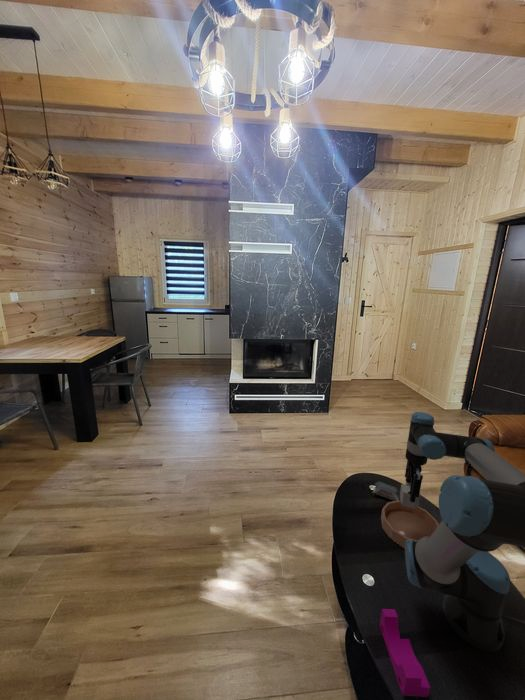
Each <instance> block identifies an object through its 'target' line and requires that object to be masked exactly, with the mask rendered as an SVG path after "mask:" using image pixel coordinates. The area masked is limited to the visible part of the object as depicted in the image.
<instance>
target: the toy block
mask: <svg viewBox="0 0 525 700" xmlns="http://www.w3.org/2000/svg"><path fill="white" fill-rule="evenodd" d="M380 614H381V615H380V620H379V628H380V630H381V633H382V636H383V640H384V643H385V645H386V649H387V652H388V655H389V657H390V661H391V663H392V667H393V671H394V673H395V677H396V680H397V682H398V686H399V689H400V691H402V692H401V694H402V693H403V695H418V696H430V692H431V686H430V684H429V681H428V678H427V676H426V674H425V670H424V668H423V666H422V665H421V663H420V662H419V661H418V659H417V657H416V655H415V653H414V650H413V646H412V644H411V642H410V640H411V639H410V638H401V637H400V630H399V616H398V613H397V611H396V609H394V608H381V613H380ZM403 695H402V696H403Z"/></svg>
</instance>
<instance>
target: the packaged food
mask: <svg viewBox="0 0 525 700" xmlns="http://www.w3.org/2000/svg"><path fill="white" fill-rule="evenodd" d="M374 486H375V487H376V488H375V489H374V490H373V491H372V492H371V493H373V494H376V495H377V496H380V497H383V498H386V499H388V500H391V501H392V502H393V501H400V497H399V494H400V490H399V488H397V487H396V486H393V485H390V484H388V483H385V482H383V481H376V482H375V483H374Z"/></svg>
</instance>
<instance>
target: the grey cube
mask: <svg viewBox="0 0 525 700" xmlns="http://www.w3.org/2000/svg"><path fill="white" fill-rule="evenodd" d="M399 491H400V492H399V495H398V497H399V501H401V504H402V506H407V501H408V492H410V486H408V485H405V484H400V490H399ZM420 500H421V493H420V494H419V497H416V503H415V508H419V507H420V506H419V505H420Z"/></svg>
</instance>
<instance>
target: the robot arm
mask: <svg viewBox="0 0 525 700" xmlns="http://www.w3.org/2000/svg"><path fill="white" fill-rule="evenodd" d="M409 424H410V425H409V430H408V431H409V432H408V437H407V442H406V450H405V460H406V466H405V473H404V478H405V484H404V485H408V486H410V492H408V501H407V507H410V508H415V503H416V497H419V494H420V495H421V488H422V481H423V479H424V475H422V474H421V473H422V466H425V465H427V462H428V459H430V460H433V461H436V460H440V459H443V458H444V457H450V458H457V459H461V460H462V459H464V460H465V461H467V462H468V463H469V464H470V465H471V466H473V468H474V469H476V471H478V472H479V473H480V474H481V475H482V476H483V477H484V478H485V479H482V478H478V477H476V476H472V475H471V476H470V475H454V474H453V475H451V476H448V477H446V479H445V480H443V482H442V484H441V486H440V489H439V491H440V493H439V495H438V508H439V514H440V517H441V521H440V522H439V523H438V524H439V525H438V526H437V528H436V529H435V530H434V532H433V533H432V534H431V536H426V537H423V538H421V539H420V540H419V541H418V542H417V541H414V540H406V542H405V549H404V559H405V567H406V575H407V578H408V581H409V583H410V584H411V585H413V586H415V587H418V588H419V589H426V590H428V591H432V592H438V593H441V594H444V597H443V602H442V611H443V614H444V616H445V618H446V621H447V623H448V624H449V625H450V627H451V628H452V629H453V630H454V632H455V633H456V634H457V635H458V636H459V637H460V638H461V639H462V640H463V641H465V642H466V643H467V644H468V645H470V646H472V647H474V648H476V649H478V650H481V651H484V652H490V653H492V652H493V653H494V652H497V651H499V650H500V649H501V648H502V647H503V644H504V641H505V629H504V625H503V620H502V616H503V611H504V608H505V605H506V600H507V596H508V594H509V592H510V584H511V577H510V575H509V572H508V570H507V568H506V567H505V566H504V564H503V563H502V562H501V561H500V560H499V559H498V558H497V557H495V556H494V555H493V554H492V553H491V552H493V551H495V550H498V549H500V547H502V546H503V545H509V546H510V545H511V546H515V547H521V548H525V473H524V472H523V471H522V470H520V469H519V468H517V467H516V466H515V465H513V464H512V463H510V461H508V460H507V459H505V458H504V457H503V456H501V455H500V454H498V453H497V452H496V450H495V446H494V445H493V442H491V440H489V439H486V438H483V437H482V438H481V437H477V436H467V435H461V434H460V435H459V434H452V433H444V432H437V431H436V430H435V429H434V425H435V418H434V417H433V415H432V414H429V413H426V412H423V411H416V412H413V413H412V414H411V418H410V422H409Z"/></svg>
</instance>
